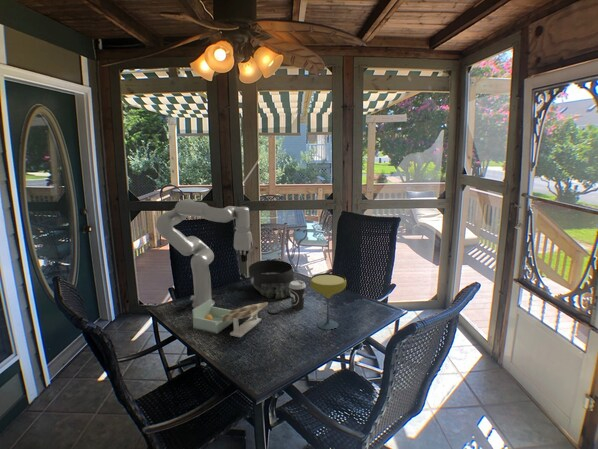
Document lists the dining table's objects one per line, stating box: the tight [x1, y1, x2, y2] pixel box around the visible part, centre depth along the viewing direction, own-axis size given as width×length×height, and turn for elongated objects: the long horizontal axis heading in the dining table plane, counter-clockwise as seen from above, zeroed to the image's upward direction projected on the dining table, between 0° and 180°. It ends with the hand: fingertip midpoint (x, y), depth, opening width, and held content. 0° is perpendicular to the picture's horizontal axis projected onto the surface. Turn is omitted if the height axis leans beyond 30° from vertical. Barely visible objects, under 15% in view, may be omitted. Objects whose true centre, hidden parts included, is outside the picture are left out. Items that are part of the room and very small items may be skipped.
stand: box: [229, 304, 262, 338], centre depth 192 cm, size 6×20×9 cm, turn 155°
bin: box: [191, 299, 233, 334], centre depth 195 cm, size 15×15×10 cm
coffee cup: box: [289, 280, 307, 311], centre depth 214 cm, size 10×10×15 cm
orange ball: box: [205, 315, 213, 320], centre depth 197 cm, size 4×4×4 cm
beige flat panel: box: [222, 301, 269, 322], centre depth 191 cm, size 18×16×3 cm
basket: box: [248, 259, 295, 300], centre depth 240 cm, size 28×35×16 cm
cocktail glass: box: [309, 272, 347, 331], centre depth 192 cm, size 18×18×25 cm
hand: (244, 261), depth 213 cm, fingers closed
